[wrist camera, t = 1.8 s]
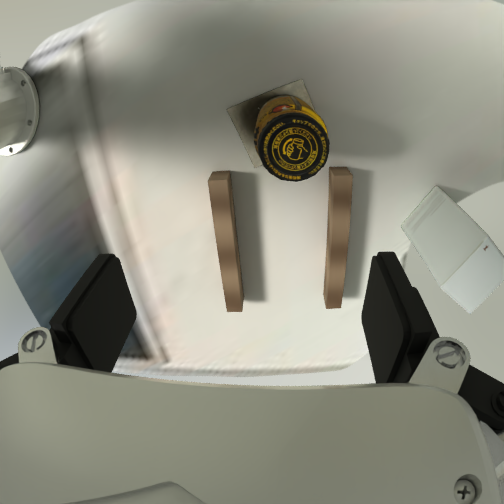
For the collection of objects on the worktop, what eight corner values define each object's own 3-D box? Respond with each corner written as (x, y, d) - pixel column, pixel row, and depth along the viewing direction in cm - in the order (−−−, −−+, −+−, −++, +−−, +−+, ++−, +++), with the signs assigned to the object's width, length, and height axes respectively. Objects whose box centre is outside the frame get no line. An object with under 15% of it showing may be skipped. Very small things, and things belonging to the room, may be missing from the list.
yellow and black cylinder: (326, 140, 33) (352, 176, 23) (254, 167, 35) (248, 214, 25) (301, 79, 30) (318, 84, 20) (226, 108, 32) (206, 129, 22)
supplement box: (398, 225, 38) (437, 287, 27) (436, 183, 35) (490, 233, 24) (430, 254, 40) (469, 316, 29) (465, 216, 36) (515, 270, 26)
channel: (212, 171, 36) (207, 180, 33) (346, 166, 34) (352, 175, 32) (229, 297, 45) (227, 311, 43) (337, 293, 44) (341, 308, 41)
